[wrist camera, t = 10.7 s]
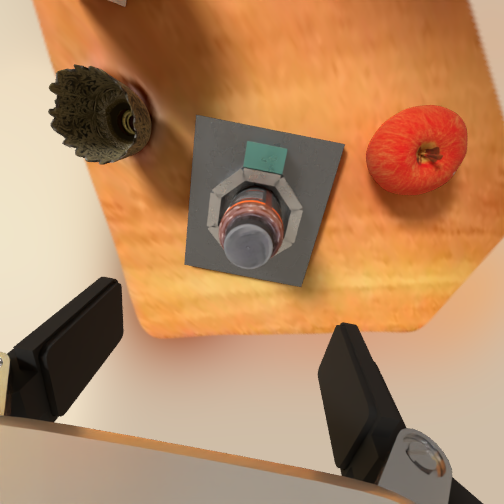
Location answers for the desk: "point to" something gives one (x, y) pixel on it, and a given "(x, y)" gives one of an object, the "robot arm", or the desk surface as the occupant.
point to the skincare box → (119, 2)
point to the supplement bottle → (252, 228)
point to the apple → (417, 150)
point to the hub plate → (265, 175)
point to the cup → (98, 115)
